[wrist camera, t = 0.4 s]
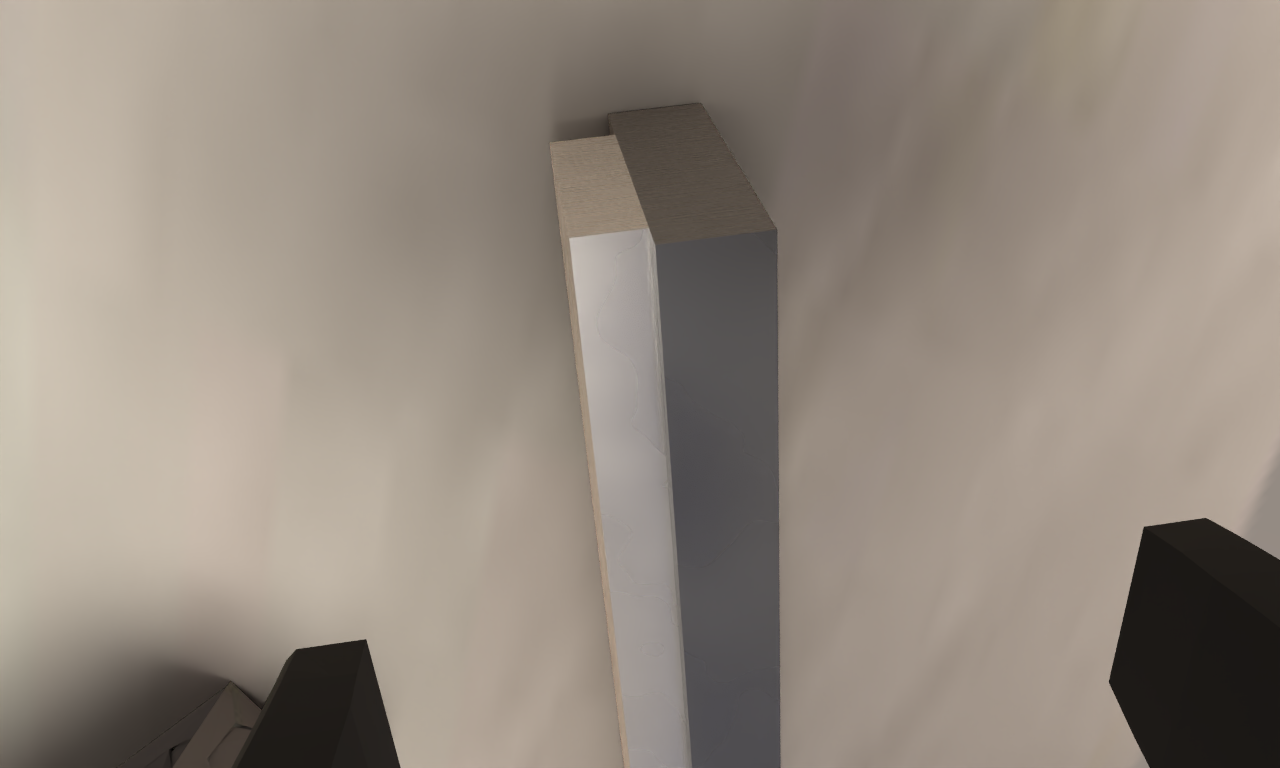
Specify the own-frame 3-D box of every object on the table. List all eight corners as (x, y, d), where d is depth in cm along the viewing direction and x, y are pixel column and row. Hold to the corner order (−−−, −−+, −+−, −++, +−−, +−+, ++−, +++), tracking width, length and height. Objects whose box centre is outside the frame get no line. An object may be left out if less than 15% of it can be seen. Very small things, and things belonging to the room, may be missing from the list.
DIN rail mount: (733, 870, 28) (782, 1074, 24) (637, 886, 28) (668, 1095, 24) (700, 102, 18) (776, 229, 14) (544, 121, 18) (572, 255, 13)
